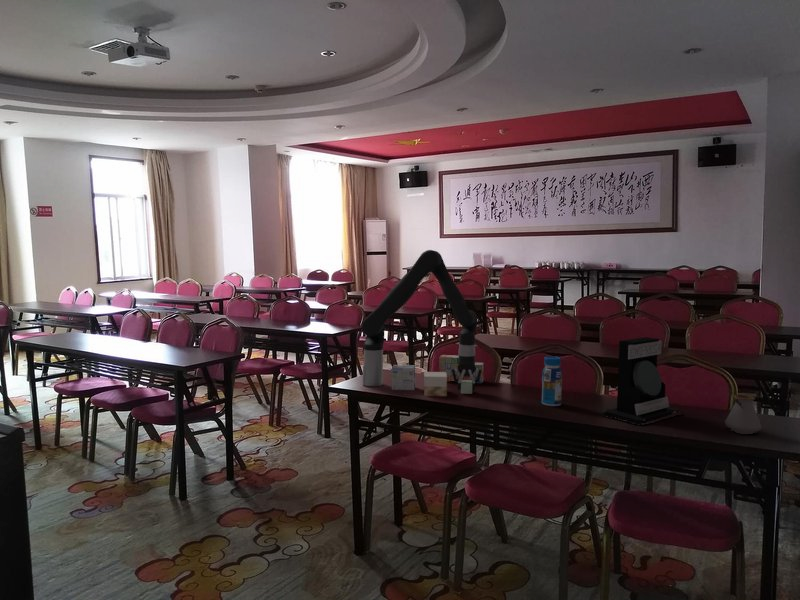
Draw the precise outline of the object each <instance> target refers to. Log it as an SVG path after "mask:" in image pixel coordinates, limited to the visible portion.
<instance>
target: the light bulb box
mask: <svg viewBox="0 0 800 600" xmlns="http://www.w3.org/2000/svg"><path fill="white" fill-rule="evenodd" d="M415 389H416V365H414V364H413V365H412V364H409V365H408V364H393V366H392V367H391V390H392V391H415Z"/></svg>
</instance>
